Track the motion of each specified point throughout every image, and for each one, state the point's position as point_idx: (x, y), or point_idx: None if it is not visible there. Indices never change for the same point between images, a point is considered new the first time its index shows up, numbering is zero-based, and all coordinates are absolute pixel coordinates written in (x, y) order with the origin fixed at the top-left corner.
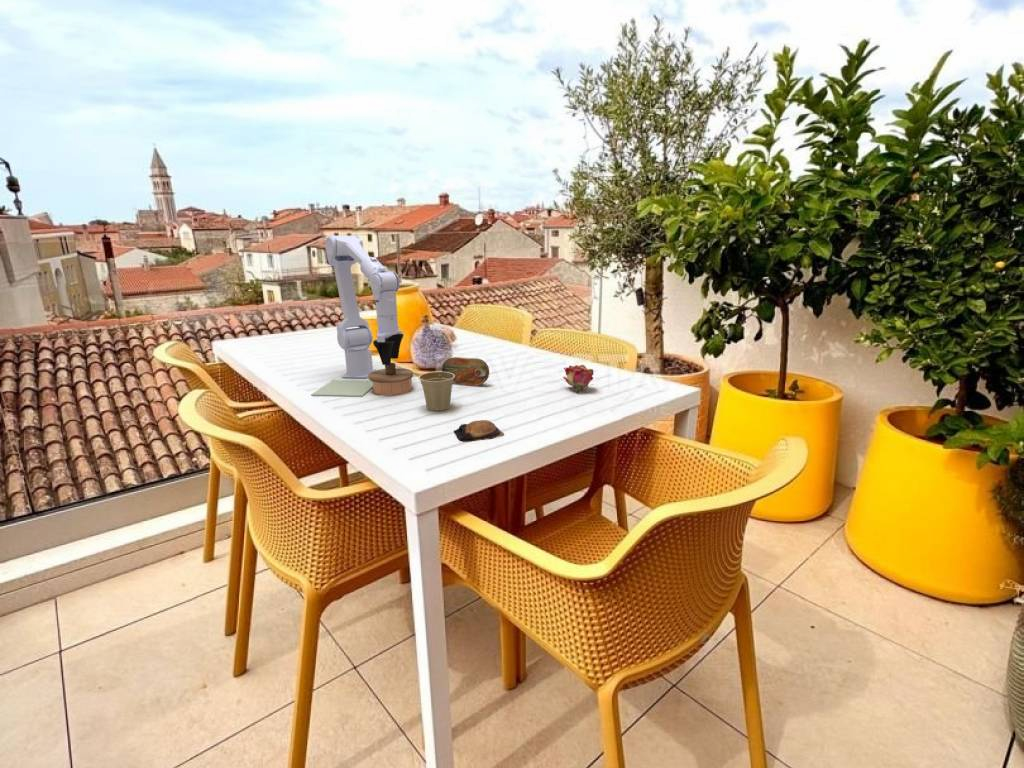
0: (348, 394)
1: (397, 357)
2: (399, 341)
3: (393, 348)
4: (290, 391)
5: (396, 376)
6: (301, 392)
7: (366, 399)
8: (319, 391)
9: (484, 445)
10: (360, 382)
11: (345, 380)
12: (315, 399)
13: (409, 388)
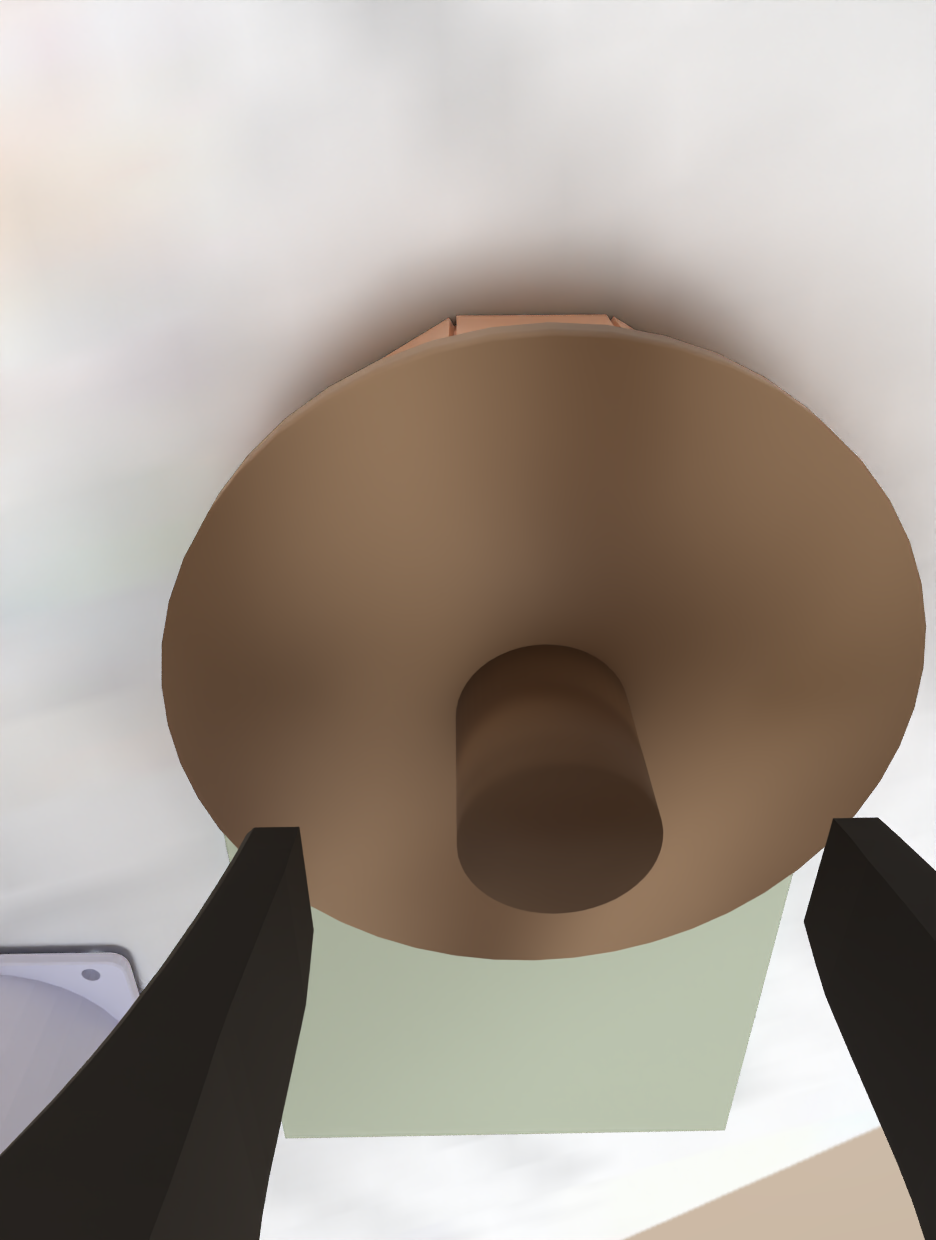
0: (759, 918)
1: (296, 841)
2: (155, 1230)
3: (250, 1100)
4: (594, 1234)
5: (720, 589)
6: (621, 1185)
7: (908, 730)
8: (641, 1113)
9: None
10: (328, 947)
11: None
12: (823, 1071)
13: (609, 324)
